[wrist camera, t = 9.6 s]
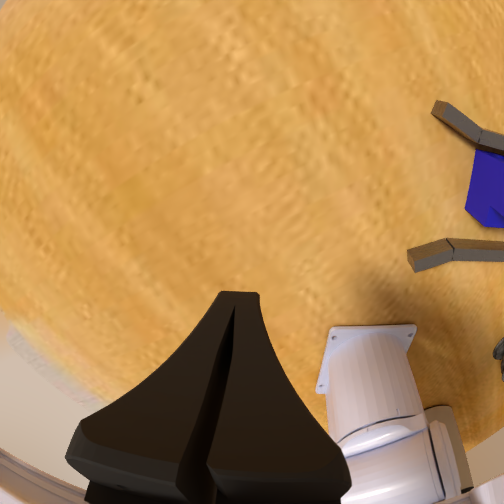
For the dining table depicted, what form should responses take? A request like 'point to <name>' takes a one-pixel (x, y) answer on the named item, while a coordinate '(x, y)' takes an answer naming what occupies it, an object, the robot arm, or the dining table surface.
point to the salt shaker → (500, 355)
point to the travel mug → (453, 442)
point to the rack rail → (451, 247)
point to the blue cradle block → (487, 189)
